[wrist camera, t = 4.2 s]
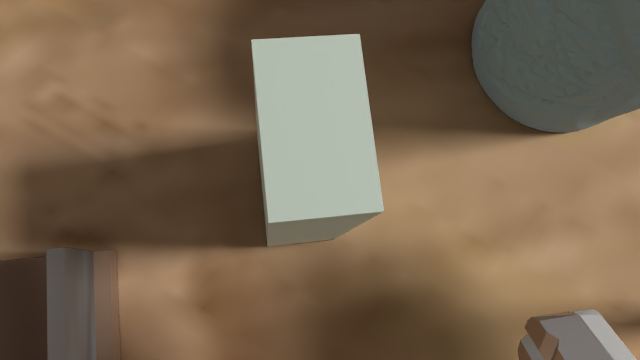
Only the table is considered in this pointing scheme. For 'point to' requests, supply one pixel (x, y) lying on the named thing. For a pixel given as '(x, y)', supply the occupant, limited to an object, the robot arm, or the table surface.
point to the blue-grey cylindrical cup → (559, 60)
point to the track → (60, 306)
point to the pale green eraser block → (314, 137)
